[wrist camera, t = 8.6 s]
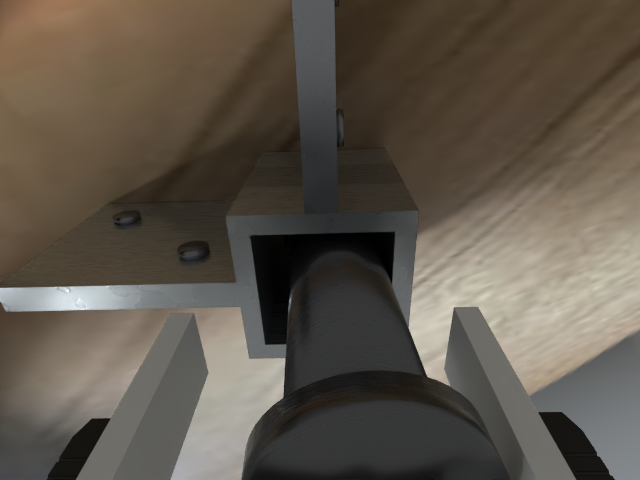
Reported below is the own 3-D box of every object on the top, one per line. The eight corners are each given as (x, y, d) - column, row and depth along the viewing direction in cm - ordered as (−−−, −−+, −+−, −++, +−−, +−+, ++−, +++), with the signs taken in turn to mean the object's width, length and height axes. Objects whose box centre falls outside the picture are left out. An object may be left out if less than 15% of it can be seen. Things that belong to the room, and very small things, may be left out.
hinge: (125, 261, 25) (32, 362, 17) (23, -57, 17) (-234, -139, 9) (380, 254, 25) (405, 356, 17) (394, -76, 17) (454, -181, 9)
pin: (284, 249, 24) (254, 591, 9) (276, 164, 22) (215, 433, 6) (371, 245, 24) (488, 574, 9) (373, 159, 22) (539, 412, 7)
